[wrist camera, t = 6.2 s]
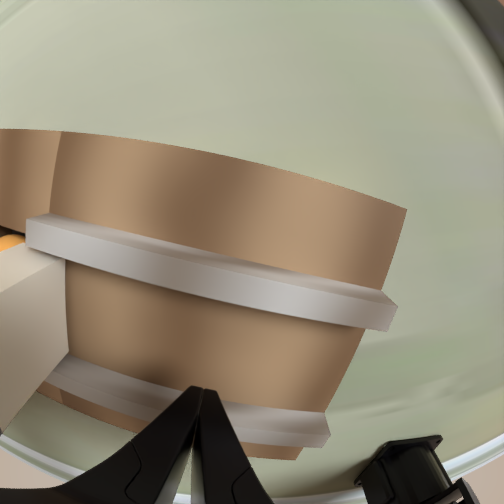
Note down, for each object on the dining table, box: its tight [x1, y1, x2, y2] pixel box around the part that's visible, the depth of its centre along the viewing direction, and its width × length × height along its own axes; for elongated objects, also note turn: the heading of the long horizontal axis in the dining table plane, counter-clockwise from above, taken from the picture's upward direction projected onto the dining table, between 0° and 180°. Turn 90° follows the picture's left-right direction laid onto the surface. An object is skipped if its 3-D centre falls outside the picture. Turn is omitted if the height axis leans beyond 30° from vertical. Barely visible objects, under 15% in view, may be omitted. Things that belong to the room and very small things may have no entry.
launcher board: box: [0, 129, 407, 460], centre depth 11 cm, size 21×14×4 cm, turn 76°
